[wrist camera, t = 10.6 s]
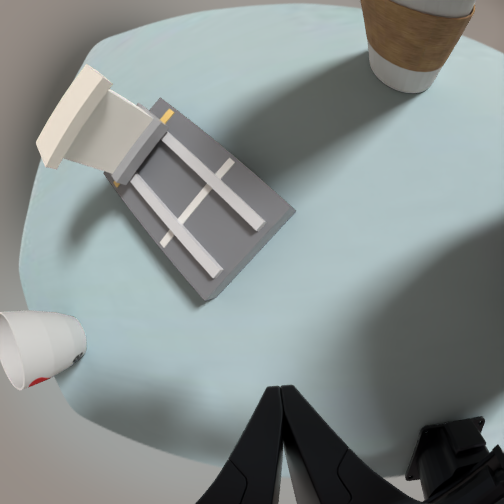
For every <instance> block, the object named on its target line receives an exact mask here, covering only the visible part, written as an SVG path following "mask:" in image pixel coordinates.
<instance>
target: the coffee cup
mask: <svg viewBox="0 0 504 504" xmlns="http://www.w3.org/2000/svg"><path fill="white" fill-rule="evenodd" d="M475 2H476V0H361V5H362V11H363V17H364V22H365V29H366V35H367V40H368V51H369V62H370V66H371V69H372V71H373V72H374V74H375V75H376V76H377V78H378V79H379V80H381V81H382V82H383V83H384V84H386V85H387V86H389V87H391V88H393V89H395V90H398V91H401V92H405V93H419V92H423V91H425V90H427V89H428V88H429V87H430V86H431V85H432V83H433V82H434V80H435V79H436V77H437V75H438V73H439V72H440V70H441V68H442V66H443V65H444V63H445V62H446V60H447V59H448V57H449V55H450V54H451V52H452V50H453V49H454V47H455V45H456V44H457V42H458V40H459V39H460V37H461V35H462V33H463V32H464V30H465V28H466V26H467V24H468V23H469V21H470V19H471V17H472V16H473V14H474V12H475Z"/></svg>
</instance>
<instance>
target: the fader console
mask: <svg viewBox="0 0 504 504" xmlns="http://www.w3.org/2000/svg"><path fill="white" fill-rule="evenodd" d="M149 111H150V112H152V113H153V114H154V115H155V116H156V117H158V118H159V119H160V120H161V121H162V122H163V123H165V124H166V125H167V126H168V127H169V129H168V131H167V132H166V133H165V134H164V135H163V137H162V138H161V139H160V140H159V142H158V143H157V144H156V145H155V147H154V148H153V149H152V151H151V152H150V153H149V154H148V156H147V157H146V158H145V160H144V161H143V162H142V164H141V165H140V166H139V168H138V169H137V171H136V172H135V173H134V175H133V176H132V177H131V179H130V180H129V182H128V183H127V185H123V184H120V183H116V181H115V180H114V179H113V177H112V176H111V175H110V173H108V172H105V171H104V173H103V174H104V175H105V176H106V178H107V179H108V181H109V182H110V183H111V185H112V186H113V187H114V189H115V190H116V192H117V193H118V194H119V196H120V197H121V198H122V200H123V201H124V202H125V204H126V205H127V206H128V208H129V209H130V210H131V212H132V213H133V214H134V216H135V217H136V218H137V219H138V221H139V222H140V223H141V225H142V226H143V227H144V228H145V230H146V231H147V232H148V234H149V235H150V236H151V237H152V239H153V240H154V241H155V242H156V244H157V245H158V246H159V247H160V249H161V250H162V251H163V252H164V253H165V255H166V256H167V257H168V258H169V260H170V261H171V262H172V263H173V264H174V266H175V267H176V268H177V269H178V270H179V272H180V273H181V274H182V275H183V276H184V277H185V279H186V280H187V281H188V282H189V283H190V284H191V286H192V287H193V288H194V289H195V290H196V291H197V293H198V294H199V295H200V296H201V297H202V298H203V299H204V301H206V300H209V299H213V298H216V297H217V296H218V295H219V294H220V293H221V292H222V291H223V290H224V289H225V288H226V287H227V286H228V284H229V283H230V282H231V281H232V280H233V279H234V278H235V277H236V276H237V275H238V274H239V273H240V272H241V270H242V269H243V268H244V267H245V266H246V265H247V264H248V263H249V262H250V261H251V260H252V259H253V257H254V256H255V255H256V254H257V253H258V252H259V251H260V250H261V249H262V248H263V247H264V246H265V245H266V243H267V242H268V241H269V240H270V239H271V238H272V237H273V236H274V235H275V234H276V233H277V232H278V230H279V229H280V228H281V227H282V226H283V225H284V224H285V223H286V222H287V221H288V220H289V219H290V217H291V216H292V215H293V214H294V213H295V212H296V210H295V209H294V208H293V207H292V206H290V205H289V204H288V203H287V202H286V201H285V200H284V199H283V198H282V197H281V196H279V195H278V194H277V193H276V192H275V191H274V190H273V189H272V188H270V187H269V186H268V185H267V184H266V183H265V182H264V181H263V180H261V179H260V178H259V177H258V176H257V175H256V174H255V173H253V172H252V171H251V170H250V169H249V168H248V167H246V166H245V165H244V164H243V163H242V162H241V161H239V160H238V159H237V158H236V157H235V156H233V155H232V154H231V153H230V152H229V151H227V150H226V149H225V148H224V147H223V146H221V145H220V144H219V143H218V142H217V141H215V140H214V139H213V138H212V137H210V136H209V135H208V134H207V133H205V132H204V131H203V130H202V129H200V128H199V127H198V126H197V125H195V124H194V123H193V122H192V121H190V120H189V119H188V118H187V117H185V116H184V115H183V114H181V113H180V112H179V111H178V110H176V109H175V108H174V107H172V106H171V105H170V104H168V103H167V102H166V101H164V100H163V99H162V98H159V99H158V101H157V102H156V103H155V104H154V105H153V107H152V108H151V109H150V110H149Z"/></svg>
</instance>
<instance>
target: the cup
mask: <svg viewBox="0 0 504 504" xmlns="http://www.w3.org/2000/svg"><path fill="white" fill-rule="evenodd" d="M86 349H87V340H86V335H85V332H84V329H83V327H82V325H81V323H80V322H79V321H78V320H77V319H76V318H75V317H73V316H69V315H65V314H60V313H56V312H43V311H12V312H0V361H1V363H2V366H3V369H4V371H5V373H6V375H7V377H8V378H9V380H10V382H11V383H12V384H13V386H14V387H16V388H17V389H18V390H23V389H25V388H27V387H30V386H33V385H35V384H38V383H40V382H43V381H45V380H47V379H50V378H51V377H53V376H55V375H57V374H58V373H60V372H62V371H63V370H65V369H67V368H69V367H70V366H71V365H73V364H74V363H75V362H76V361H77V360H78V359H80V358H81V357H82V356H83V355H84V354H85V352H86Z"/></svg>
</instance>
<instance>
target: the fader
mask: <svg viewBox="0 0 504 504" xmlns="http://www.w3.org/2000/svg"><path fill="white" fill-rule="evenodd" d="M112 85H113V84H112V83H111V82H110V81H109V80H108V79H106V78H105V77H104V76H103V75H102V74H100V73H99V72H98V71H97V70H95V69H94V68H92V67H91V66H89V65H87V64H86V65H85V67H84V68H83V69H82V71H81V72H80V73H79V75H78V76H77V77H76V79H75V80H74V81H73V83H72V84H71V86H70V87H69V89H68V90H67V91H66V93H65V94H64V96H63V97H62V99H61V101H60V102H59V104H58V105H57V107H56V108H55V110H54V112H53V113H52V115H51V116H50V118H49V120H48V121H47V123H46V125H45V127H44V129H43V130H42V132H41V134H40V136H39V138H38V139H37V141H36V145H37V147H38V150H39V152H40V155H41V157H42V159H43V162H44V164H45V167H48V168H52V169H56V170H57V168H58V166H59V165H60V163H61V161H62V159H63V158H64V159H67V160H70V161H73V162H77V163H80V164H83V165H86V166H90V167H93V168H96V169H99V170H102V171H105V172H108V173H110V175H111V176H112V177H113V179H114V180H115V181H116V183H120V184H123V185H127V183H128V182H129V180H130V179H131V177H132V176H133V175H134V173H135V172H136V171H137V169H138V168H139V166H140V165H141V164H142V162H143V161H144V160H145V158H146V157H147V156H148V154H149V153H150V152H151V151H152V149H153V148H154V147H155V145H156V144H157V143H158V142H159V140H160V139H161V138H162V137H163V135H164V134H165V133H166V132H167V131H168V129H169V127H168V126H167V125H166V124H165V123H163V122H162V121H161V120H160V119H159V118H158V117H156V116H155V115H154V114H153V113H152V112H150V111H149V110H148V109H147V108H146V107H144V106H142V105H141V104H139V103H138V104H137V105H135V104H133V103H132V102H130V101H129V100H127V99H125V98H124V97H122V96H121V95H119V94H117V93H116V92H114V91H112V90H111V89H110V88H111V86H112Z"/></svg>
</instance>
